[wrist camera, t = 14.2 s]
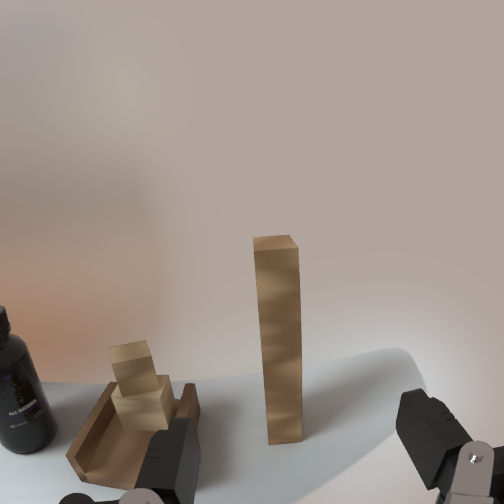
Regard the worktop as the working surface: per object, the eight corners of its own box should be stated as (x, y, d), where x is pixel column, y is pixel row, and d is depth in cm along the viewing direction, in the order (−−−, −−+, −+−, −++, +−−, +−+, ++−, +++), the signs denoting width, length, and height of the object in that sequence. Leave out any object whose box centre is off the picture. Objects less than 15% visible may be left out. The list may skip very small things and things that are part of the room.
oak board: (268, 444, 21) (253, 251, 18) (266, 409, 26) (253, 237, 23) (301, 441, 21) (298, 247, 18) (295, 406, 26) (288, 234, 23)
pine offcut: (123, 429, 22) (110, 395, 21) (133, 406, 25) (123, 374, 24) (169, 432, 22) (159, 398, 21) (176, 407, 25) (168, 375, 24)
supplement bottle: (46, 460, 18) (-15, 330, 15) (-10, 449, 17) (-68, 329, 14) (67, 413, 25) (27, 297, 22) (15, 409, 24) (-26, 302, 21)
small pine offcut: (122, 397, 21) (111, 364, 20) (119, 379, 23) (109, 347, 23) (159, 389, 22) (151, 355, 22) (153, 371, 25) (145, 340, 24)
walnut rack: (81, 481, 17) (65, 455, 16) (118, 407, 26) (110, 381, 26) (184, 495, 17) (173, 470, 16) (200, 409, 26) (194, 383, 26)
